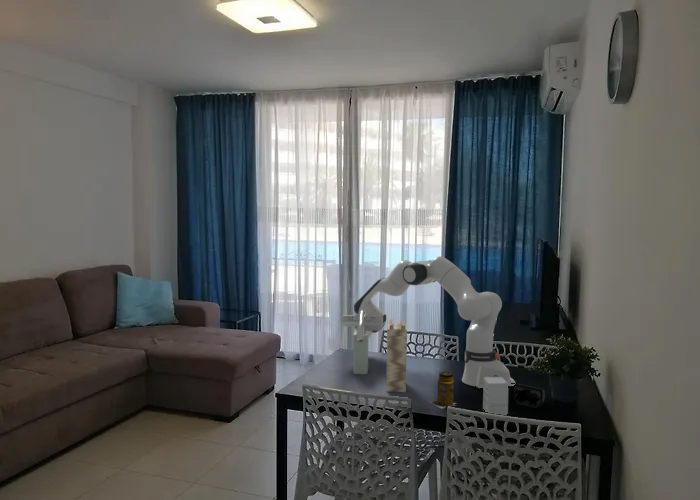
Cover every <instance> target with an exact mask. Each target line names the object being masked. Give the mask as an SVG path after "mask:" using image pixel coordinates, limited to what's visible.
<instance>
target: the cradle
mask: <svg viewBox="0 0 700 500" xmlns="http://www.w3.org/2000/svg"><path fill="white" fill-rule="evenodd" d="M356 339H357V331H355V330H354V332H353V339H352V342H353V349H352V350H353V353H352V355H353V356H352V357H353V358H352V361H353V364H352V366H353V367H352V370H353V373H352V374H353V375H368V372H369V339H368V331H366V333H365V335H364V336H363V341H362V342H358V341H357V340H356Z"/></svg>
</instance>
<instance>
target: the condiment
mask: <svg viewBox="0 0 700 500" xmlns="http://www.w3.org/2000/svg"><path fill="white" fill-rule="evenodd" d="M453 377H454V374H453V373H452V372H450V371H439V374H438V379H437V399H436V400H433V401H429V402H428V403H429V404H431V405H433V406H435V407H436V408H439V409H446V407H447V406H451V407H454V406H455V407H456V405H455V404H457V403H456V402H454V383H455V381H454V378H453ZM447 408H448V407H447Z"/></svg>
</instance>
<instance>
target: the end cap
mask: <svg viewBox="0 0 700 500" xmlns="http://www.w3.org/2000/svg"><path fill="white" fill-rule="evenodd" d="M545 392H546V391H545V389H544V388H540V387H535V386H530V385H525V384H520V383H517V384H516V387H515V389H514V391H513V393H514V394H515V395H514V396H513V401H514V402H515V401H517V402H520V403H522V402H523V401H528V402H530V403H529V405H534V406H537V405H538V404H540V403H543V402H545V399H546V393H545ZM543 404H544V403H543Z"/></svg>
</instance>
